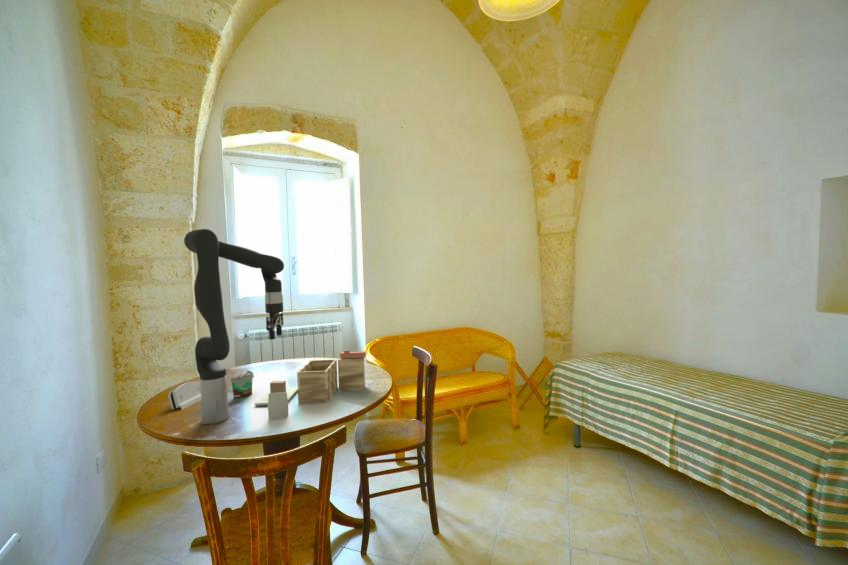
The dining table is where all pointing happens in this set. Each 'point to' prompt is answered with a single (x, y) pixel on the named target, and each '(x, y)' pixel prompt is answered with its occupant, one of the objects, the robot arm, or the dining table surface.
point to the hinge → (185, 395)
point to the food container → (242, 385)
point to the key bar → (352, 354)
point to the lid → (277, 388)
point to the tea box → (278, 406)
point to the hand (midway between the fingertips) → (275, 337)
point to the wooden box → (329, 378)
